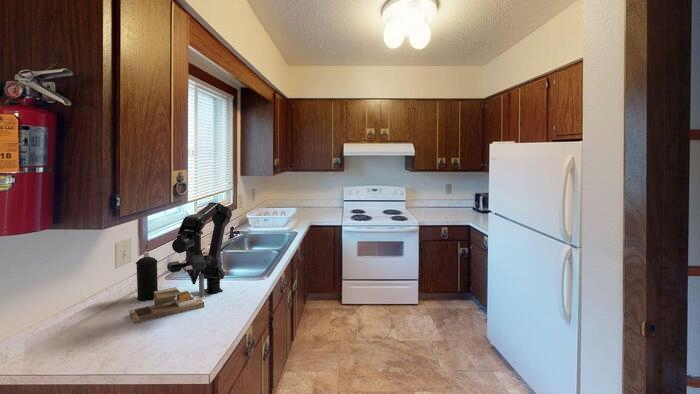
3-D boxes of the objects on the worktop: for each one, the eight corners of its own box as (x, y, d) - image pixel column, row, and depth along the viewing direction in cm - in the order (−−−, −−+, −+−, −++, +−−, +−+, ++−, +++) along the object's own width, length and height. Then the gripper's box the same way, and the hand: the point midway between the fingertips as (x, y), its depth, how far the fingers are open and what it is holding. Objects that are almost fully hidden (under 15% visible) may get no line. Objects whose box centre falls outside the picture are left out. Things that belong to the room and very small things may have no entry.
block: (177, 302, 147) (176, 292, 147) (187, 300, 150) (187, 290, 149) (179, 305, 144) (179, 295, 144) (190, 303, 147) (190, 293, 146)
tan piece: (129, 314, 139) (128, 295, 138) (196, 299, 155) (196, 282, 155) (134, 323, 132) (133, 303, 131) (204, 307, 148) (204, 289, 147)
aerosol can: (157, 299, 154) (156, 254, 152) (135, 302, 151) (133, 255, 149) (159, 293, 162) (158, 249, 160) (138, 295, 159) (137, 250, 157)
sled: (174, 301, 148) (173, 276, 147) (201, 295, 155) (201, 272, 154) (179, 306, 143) (178, 281, 142) (206, 300, 150) (206, 276, 149)
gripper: (174, 254, 135) (175, 295, 137) (223, 248, 147) (223, 285, 149) (166, 248, 144) (167, 286, 145) (213, 242, 156) (213, 277, 157)
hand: (193, 284), depth 149 cm, fingers closed
